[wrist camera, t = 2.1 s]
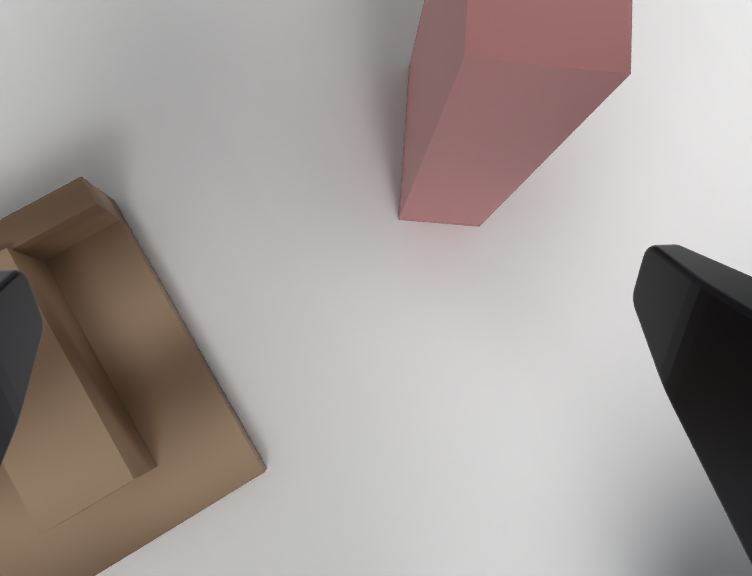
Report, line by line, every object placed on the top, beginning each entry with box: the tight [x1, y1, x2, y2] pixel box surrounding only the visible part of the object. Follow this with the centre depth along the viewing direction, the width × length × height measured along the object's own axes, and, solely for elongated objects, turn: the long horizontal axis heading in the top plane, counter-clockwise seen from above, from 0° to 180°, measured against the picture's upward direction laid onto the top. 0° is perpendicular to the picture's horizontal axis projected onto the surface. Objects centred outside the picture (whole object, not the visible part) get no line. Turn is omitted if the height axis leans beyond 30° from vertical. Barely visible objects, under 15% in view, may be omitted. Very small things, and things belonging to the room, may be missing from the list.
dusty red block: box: [399, 0, 632, 226], centre depth 18 cm, size 6×3×12 cm, turn 176°
